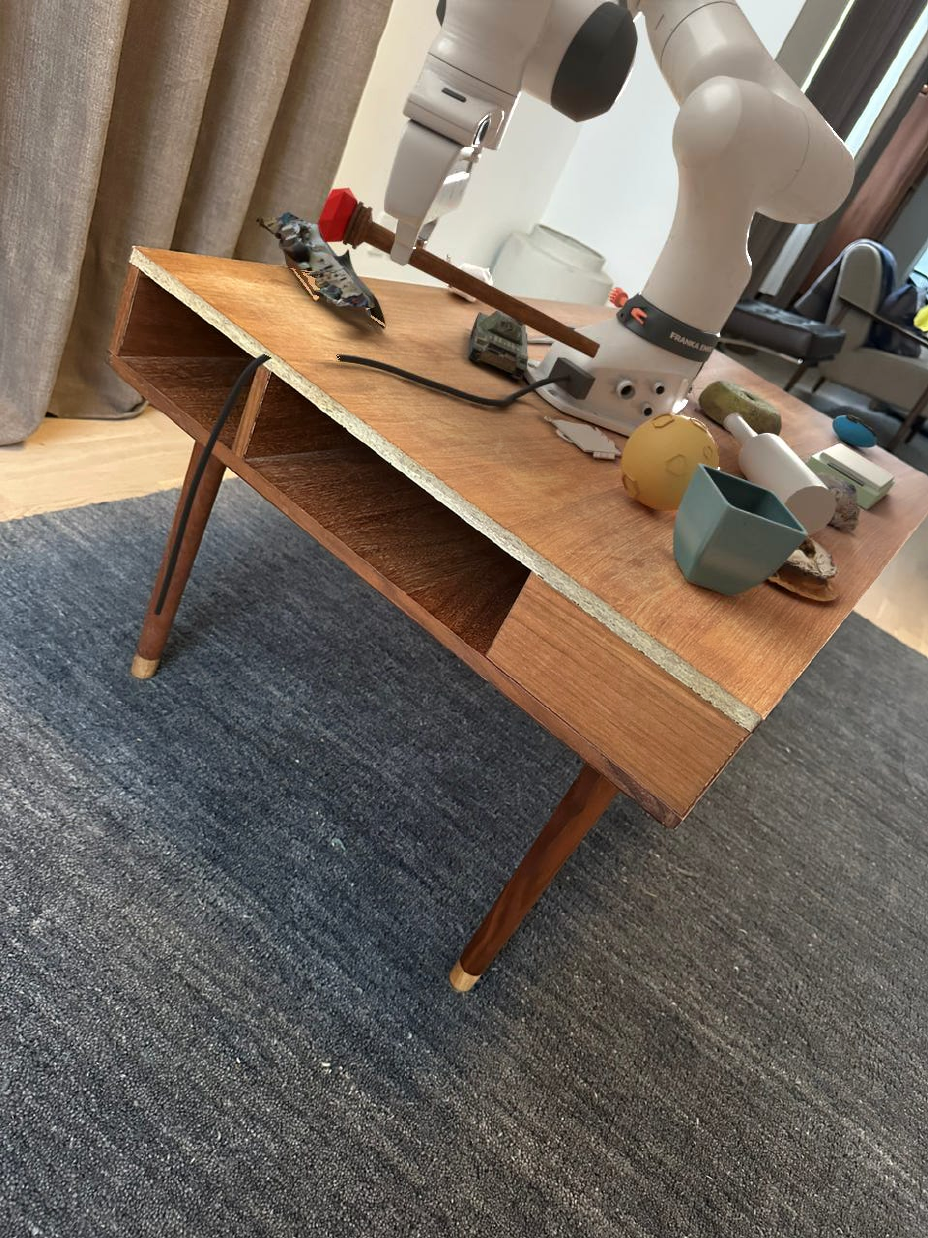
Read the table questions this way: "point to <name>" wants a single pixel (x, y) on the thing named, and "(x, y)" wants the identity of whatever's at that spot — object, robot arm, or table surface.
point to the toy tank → (499, 343)
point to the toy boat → (321, 264)
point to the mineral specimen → (842, 501)
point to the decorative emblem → (586, 438)
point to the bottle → (782, 475)
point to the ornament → (854, 431)
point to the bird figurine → (474, 271)
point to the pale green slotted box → (854, 473)
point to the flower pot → (732, 532)
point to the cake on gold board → (808, 572)
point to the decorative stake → (436, 267)
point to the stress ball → (666, 459)
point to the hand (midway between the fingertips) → (405, 258)
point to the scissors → (544, 339)
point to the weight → (740, 407)
